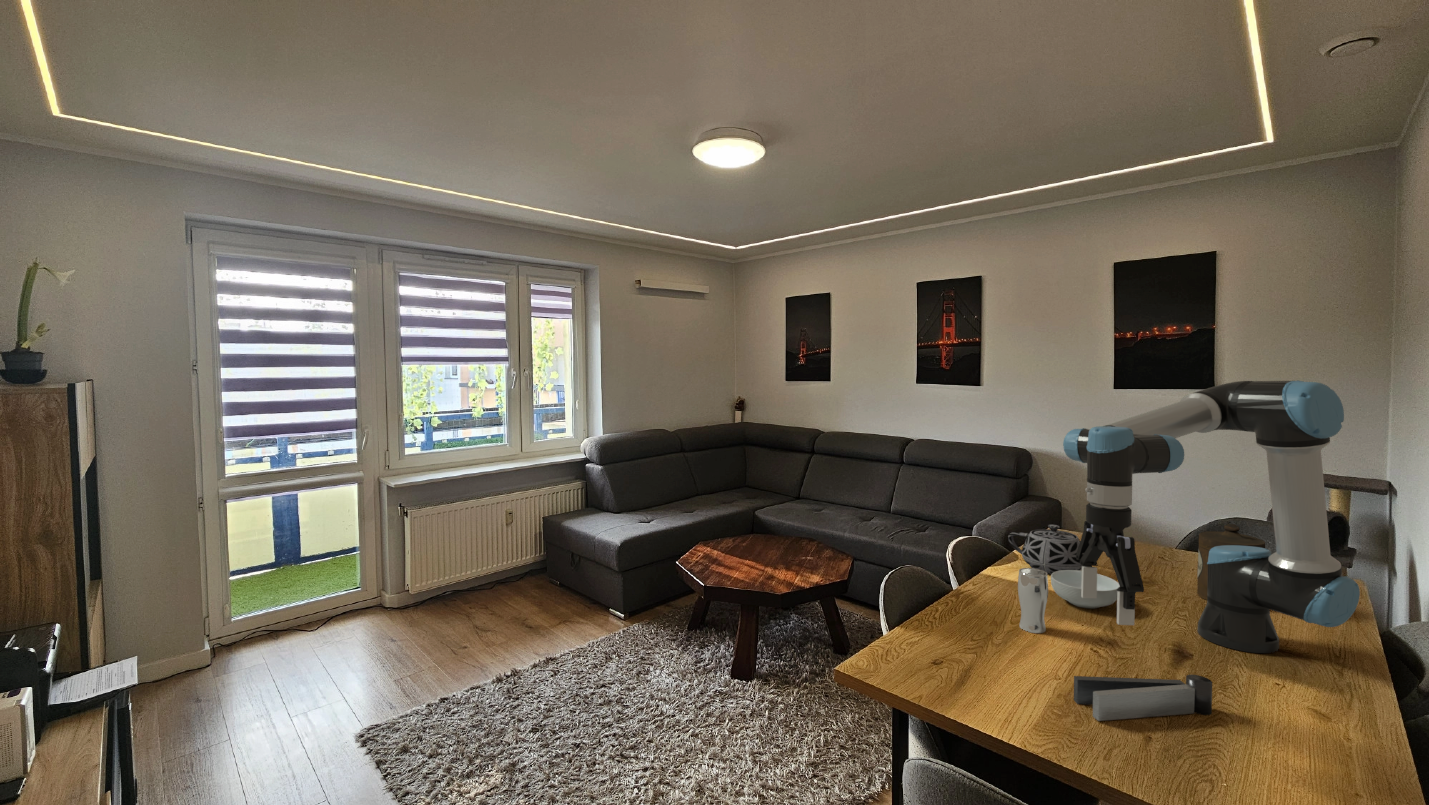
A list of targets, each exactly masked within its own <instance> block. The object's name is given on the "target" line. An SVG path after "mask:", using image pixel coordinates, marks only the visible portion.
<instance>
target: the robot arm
mask: <svg viewBox="0 0 1429 805" xmlns="http://www.w3.org/2000/svg"><path fill="white" fill-rule="evenodd" d="M1344 421H1345V410H1344V406H1343V403H1342V400H1341V398H1340V397H1339V395H1338V394H1337V393H1336V391H1335V390H1334V389H1332V388H1331V387H1329V386H1328V385H1326V384H1324V383H1321V382H1317V381H1304V380H1239V381H1232V382H1226V383H1223V384H1219V385H1214V386H1212V387H1208V388H1204V389H1201V390H1198V391H1195V392H1192V393H1189V394H1186V395H1185V396H1183V397H1182V398H1181V399H1180V400H1179V401H1178V402H1175V403H1171V404H1169V405H1165V406H1161V407H1159V408H1157V409H1153V410H1150V411H1146V412H1144V413H1141V414H1138V415H1134V416H1131V417H1127V418H1125V419H1122V420H1119V421H1115V422H1112V423H1109V424H1107V425H1103V426H1100V425H1099V426H1093V427H1091V428H1090V429H1089V428H1085V427H1084V428H1073V429H1071V430H1070V431H1068V432H1067V433H1066V434H1065V437H1064V438H1063V442H1062V446H1063V451H1064V453H1065V455H1066V456H1067V458H1068V459H1070V460H1071V461H1075V462H1076V461H1077V462H1081V463H1082V464H1087V465H1086V466H1087V468H1086V471H1087V472H1086V473H1087V475H1086V488H1084V489H1085V490H1084V491H1085V493H1086V502H1088V503H1087V504H1086V505H1085V521H1084V524H1083V530H1082V535H1081V538H1080V544H1079V547H1078V550H1077V553H1076V559H1077V560H1080V564H1081V565H1082V569H1081V571H1082V581H1081V597H1082V598H1097V574H1098V566H1099V564H1098V560H1099V559H1100V558H1101V555H1102V554H1103V553H1105V556H1106V557H1107V558H1109V560H1110V562H1111V565H1112V568H1113V571H1114V574H1115V576H1116V579H1117V582H1118V583H1119V585H1120V587H1119V588H1118V589H1117V600H1116V624H1117V625H1118V626H1119V625H1120V626H1135V615H1136V614H1135V613H1136V611H1135V610H1136V594H1137V593H1144V592H1145V588H1144V583H1143V579H1142V575H1141V569H1140V567H1139V562H1138V558H1137V554H1136V543H1135V542H1136V540H1135V538H1134V537H1133V536H1131V537H1130V536H1125V534H1124V529H1126V528H1130V527H1131V526H1132V511H1133V510H1132V508H1131V507H1130V506H1132V504H1133V503H1132V502H1133V475H1135V474H1151V473H1152V474H1153V473H1154V474H1155V473H1156V474H1157V473H1158V474H1162V473H1166V472H1172V471H1175V470H1177V469H1178V468H1180V466H1182V464H1183V462H1184V460H1185V449H1184V446H1183V445H1182V444H1181V442H1180V440H1178V438H1180V437H1183V436H1187V435H1189V434H1190V435H1191V434H1192V433H1200V434H1204V433H1205V434H1206V433H1211V432H1213V431H1220V430H1221V431H1240V432H1250V433H1255V440H1256V441H1255V442H1256V445H1257V446H1259V447H1261V448H1262V449H1264V451H1266V452H1265V453H1266V461H1267V471H1268V480H1269V490H1270V491H1269V493H1270V500H1271V509H1272V519H1273V530H1274V539H1275V540H1274V541H1275V549H1276V551H1275V552H1273V553H1272V551H1271V550H1269V549H1268V548H1266V547H1265V548H1260V547H1253V546H1240V545H1224V546H1216V547H1213V548H1211V549H1210V551H1209V556H1208V562H1207V564H1208V585H1207V600H1206V604H1205V607H1204V609H1203V611H1202V612H1201V615H1200V617H1199V619H1198V621H1197V633H1198V635H1199V636H1200V637H1202V638H1203V639H1204V640H1207V641H1209V642H1211V643H1213V644H1215V645H1218V646H1221V647H1224V648H1228V649H1231V650H1236V651H1240V652H1245V653H1255V654H1271V652H1272V653H1275V651H1276V652H1278V651H1279V650H1278V649H1280V638H1279V636H1278V634H1277V630H1276V628H1275V626H1274V625H1275V624H1274V623H1273V620H1272V618H1271V611H1273V612H1277V613H1280V614H1283V615H1285V616H1290V617H1292V618H1295V619H1298V620H1301V621H1304V622H1306V623H1309V624H1314V625H1318V626H1322V627H1326V628H1335V627H1339V626H1341V625H1343V624H1345V623H1346V622H1347V621H1348V620H1349V619H1351V617H1352V616H1353V614H1354V613H1355V612H1356V609H1357V608H1358V604H1359V601H1360V594H1361V591H1360V586H1359V584H1358V583H1357V581H1355V580H1354V579H1353V578H1351V577H1349V576H1347V575H1346V576H1345V575H1344V574H1343V568H1342V563H1341V562H1340V561H1339V560H1338V559H1336V558H1335V557H1333V556H1332V555H1331V546H1330V537H1329V536H1330V534H1329V533H1330V532H1329V525H1328V524H1329V522H1328V513H1327V503H1326V491H1325V481H1324V480H1325V479H1324V472H1323V471H1324V470H1323V461H1322V458H1323V457H1322V450H1323V449H1324V448H1325V447H1327V446H1328V445H1329V444H1330V443H1331V438H1332V437H1335V436H1336V435H1337V434H1338V433H1339V432H1340V431H1341V429H1342V428H1343V425H1342V423H1344ZM1082 553H1084V554H1082Z"/></svg>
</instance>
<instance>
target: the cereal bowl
mask: <svg viewBox="0 0 1429 805" xmlns="http://www.w3.org/2000/svg"><path fill="white" fill-rule="evenodd" d="M1081 581H1082V570H1080V571H1079V570H1061V571H1056V572H1053V573H1052V574H1050V585H1051V587H1052V590H1053V591H1054V592H1055V594H1056V595H1057V596H1058V597H1060V598H1061V599H1063V600H1066V601H1067V602H1068V603H1070V604H1071V605H1074V606H1075V607H1078V608H1084V609H1098V608H1100V607H1107V606H1111V605H1113V604H1114V603H1115V602H1117V589H1118V588H1119V587H1120V585H1119V582H1118V580H1117V581H1116V579H1114V578H1111V577H1109V576H1106V575H1102V574H1100V573H1097V598H1082V597H1081Z"/></svg>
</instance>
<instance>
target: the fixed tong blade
mask: <svg viewBox="0 0 1429 805" xmlns="http://www.w3.org/2000/svg"><path fill="white" fill-rule="evenodd" d="M1184 684H1188V685H1190V686H1192V687H1194V688H1195V701H1194V713H1193V714H1197V715H1202V716H1210V715H1212V712H1213V711H1212V710H1213V709H1212V708H1213V707H1212V705H1213V681H1212V680H1211V679H1209V678H1207V677H1205V676H1202V675H1198V674H1187V675H1185V682H1184V681H1182V680H1180V679H1168V678H1167V679H1165V678H1164V679H1163V678H1160V679H1159V678H1141V677H1140V678H1136V677H1114V676H1113V677H1112V676H1109V677H1108V676H1087V675H1086V676H1084V675H1083V676H1081V675H1074V676H1073V701H1074V702H1075V703H1076V704H1077V705H1092V706H1093V691H1103V690H1117V689H1130V688H1144V687H1157V686H1171V685H1184Z"/></svg>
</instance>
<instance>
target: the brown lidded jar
mask: <svg viewBox="0 0 1429 805" xmlns="http://www.w3.org/2000/svg"><path fill="white" fill-rule="evenodd" d="M1223 529H1224V531H1218V530H1217V531H1215V530H1214V531H1213V530H1212V531H1210V530H1209V531H1207V530H1206V531H1202V532H1199V534H1198V556H1197V584H1196V585H1197V587H1196V588H1197V595H1198V596H1199V597H1200V598H1201V599H1203V600H1205V601H1207V585H1208V564H1207V562H1208V556H1209V551H1210V549H1211V548H1213V547H1216V546H1224V545H1240V546H1253V547H1260V548H1265V549H1266V542H1265V540H1263V539H1261V538H1258V537H1255V536H1252V535H1251V536H1250V535H1247V534H1242V533H1239V531H1240V527H1239V526H1238V525H1236V524H1233V523H1228V524H1225V525H1223Z"/></svg>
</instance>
